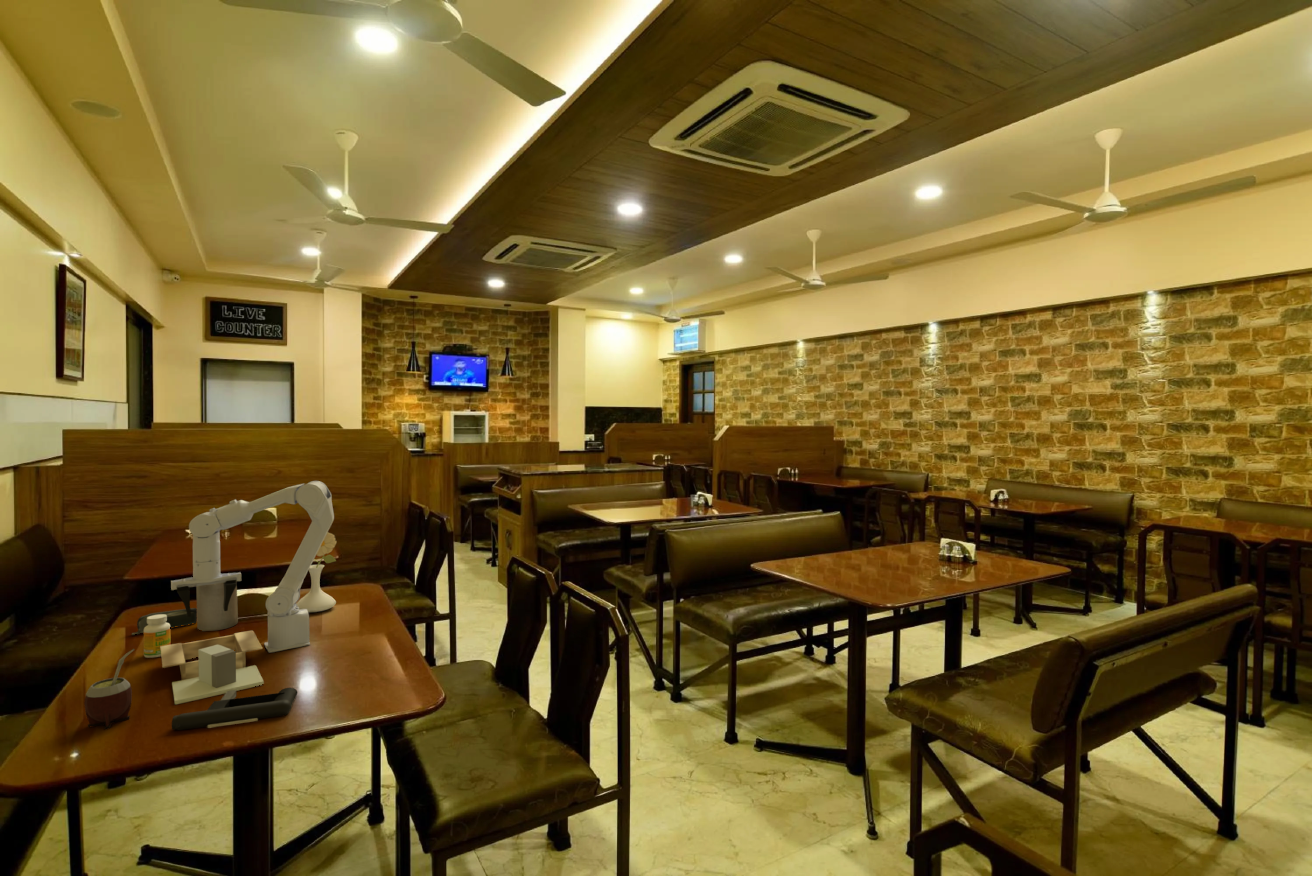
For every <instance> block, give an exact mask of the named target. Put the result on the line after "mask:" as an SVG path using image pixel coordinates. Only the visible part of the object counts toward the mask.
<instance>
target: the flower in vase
mask: <svg viewBox="0 0 1312 876" xmlns="http://www.w3.org/2000/svg"><path fill="white" fill-rule="evenodd" d="M336 545H337V540H336V536H335V534H333V533H331V532H329V531H328V532H327V534H326V536H325V538H324V540H323V542H322V544H321V546H320V548H319V550H318V552H317V554H316V556H317V557H321V559H320V561H318V560H317V559H315V558H314V560H313V561H315V562H316V563H317V564H311V566H310V568H309V570H308V572H309V574H310V580H311V586H310V590H309V592H307V593H306V594H305V595H304V596H303V597H301V598H299V600H298V601H297V602H296V604H297V606H298V607H299V610H301V609H307V610H308V613H317V612H323V611H327V610H329V609H331V608H333V607H334V606H335V605H336V603H337V601H336V600H335V599H334V598H333V596H331V595H329V594H328V593H326V592H324V591H323V590H322V588H321V586H320V585H321V584H320V582H321V581H320V579H321V573H322V571H323V568H324V567H325V565H324V564H321V562H322V560H323V561H324V562H325V563H326V564H331V563H334V562H337V560H336V558H335V557H334V556H333V555H331V554H329V553H331V552H332V551H333V550H334V548H335V547H336ZM326 554H327V555H326Z"/></svg>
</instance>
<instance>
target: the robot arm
mask: <svg viewBox="0 0 1312 876" xmlns="http://www.w3.org/2000/svg"><path fill="white" fill-rule="evenodd" d="M332 499H333V497H332V492H331V491H330V490H329V488H328V486H327V485H326V483H324V482H322V481H321V480H320V481H319V480H312V481H309V482H308V483H300V484H296V485H292V486H288V487H286V488H283V489H280V490H278V491H275V492H272V493H270V494H267V495H265V496H262V497H260V498H257V499H255V500H252V501H247V500H243V499H240V500H237V499H233V500H231V501H229V503H228V504H225V505H223V506H220V507H218V508H215V507H213V508H210V509H208V511H206V512H203V513H201V514H198V515H196V516H195V517H193V518H192V519H191V520H190V522H189V523H188V530H189V532H190V533H191V535H192V576H193V577H192V576H191V577H186V578H181V579H175V580H170V588H171V589H170V590H171V591H174V590H176V592H177V594H178V596H179V597H180V599H181V601H182V603H183V605H184V609H186V612H187V617H190V616H191V610H190V608H191V603H190V602H191V599H190V598H191V591H190V588H194V587H196V586H202V585H209V584H217V583H224V604H223V607H224V611H228V605H229V601H230V598H231V596H232V594H233V592H234V590H235V588H236V586H237V587H238V585H237V583H238V582H242V573H241V571H239V572H238V571H237V572H228V573H221V541H220V540H221V537H220V535H221V534H220V532H221V530H222V531H224V530H227V529H230V528H233V527H235V526H238V525H241V524H244V523H247V522H248V521H251V520H252V518H253V516H254V514H256V513H258V512H261V511H265V510H269V509H270V508H273V507H276V506H279V505H283V504H291V505H296V504H298V505H299V506H301V508H302V509H304V510H305V511H306V512H307V513H308V516H309V517H310V520H311V523H310V525H309V526H308V529H307V531H306V533H305V534H304V536H303V539H302V540H301V543H300V545H299V547H298V549H297V550H296V553H295V554H294V557H293V558H292V560H291V562H290V564H289V566H288V568H287V570H286V573H285V574H284V576H283V578H282V579H281V581H280V583H279V584H278V586H277V587H276V589H274V591H273V592H272V593H271V594H270V595H269V596H268V597H267V598H266V600H265V608H266V610H267V641H265V642H264V643H263V644H264V647H265V648H266V651H267V652H268V653H275V652H280V651H286V650H291V649H295V648H300V647H305V646H306V647H307V646H310V645H311V642H310V613H309V612H308V610H307V609H301V610H299V607H298V606H297V604H296V603H297V602H298V601H299V600H300V599H301V598H300V597H301V587H302V585H303V583H304V579H305V578H306V576H307V574H308V572H309V571H308V570H309V568H310V566H311V565H313V562H314V561H315V560H314V559H315V558H316V556H317V555H316V554H317V552H318V550H319V548H320V546H321V544H322V542H323V540H324V538H325V536H326V534H327V532H329V530H330V529H331V527H332V524H333V522H334V520H335V513H334V508H333V506H334V505H333V502H332V501H333V500H332ZM236 581H237V583H236Z"/></svg>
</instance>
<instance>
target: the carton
mask: <svg viewBox="0 0 1312 876" xmlns="http://www.w3.org/2000/svg"><path fill="white" fill-rule="evenodd" d="M214 645H221V646H224V647H226V648H229V649H231V650H235V651H236V669H239V668H244V667H247V666H246V663H247V662H246V660H247V659H246V658H247V657H246V653H247V652H254V651H259V650H263V646H262V645H261V643H260V640H259V639H258V638H257V635H256V633H255V631H254V630H246V631H241V632H235V633H233V634H230V635H225V636H219V637H212V638H207V639H201V640H196V641H191V642H185V643H182V642H178V643H172V644H171V645H166V646H160V649H161V656H160V658H161V664H162V665H161V666H162V669H163V668H164V669H165V668H170V667H175V666H176V667H177V666H179V670H180V675H181V680H186V679H191V678H195V677H199V659H198V660H194V661H192V660H193V659H197V658H196V657H198V658H199V654H198V650H199V649H203V648H206V647H210V646H214ZM192 658H193V659H192ZM186 660H191V661H188V662H186Z"/></svg>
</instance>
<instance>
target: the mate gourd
mask: <svg viewBox="0 0 1312 876" xmlns="http://www.w3.org/2000/svg"><path fill="white" fill-rule="evenodd" d="M134 651H135V648H132V649H131V650H129V651H128V652H127V653H125V654H124V655H123V656H122V657H121V658H120V659H118V661H117V666H116V670H115V673H114V675H113V677H111V678H105V679H103V680H99V681H96V682H94V683H93V684H91V685H90V686H89V688H88V689H87V691H86V693H85V698H84V702H83V703H84V710H85V715H86V718H87V720H88V724H87V728H88V727H89V728H91V727H90V726H95V727H98V726H97V725H99V726H103V727H104V730H109V729H110V728H111V726H112V724H113V723H118V722H122V721H127V720H130V717H131V715H129V712H130V710H131V708H132V707H131V706H132V701H133V699H132V696H133V691H132V690H133V689H132V686H131V683H130V682H129V681H128V680H127V679H126V678H125V677H118V676H119V674H120V671H121V668H122V666H123V665H124V662H125V659H126V658H127V657H128V656H129V655H130V654H131V653H132V652H134ZM111 723H112V724H111ZM103 724H104V725H103ZM108 728H109V729H108Z"/></svg>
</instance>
